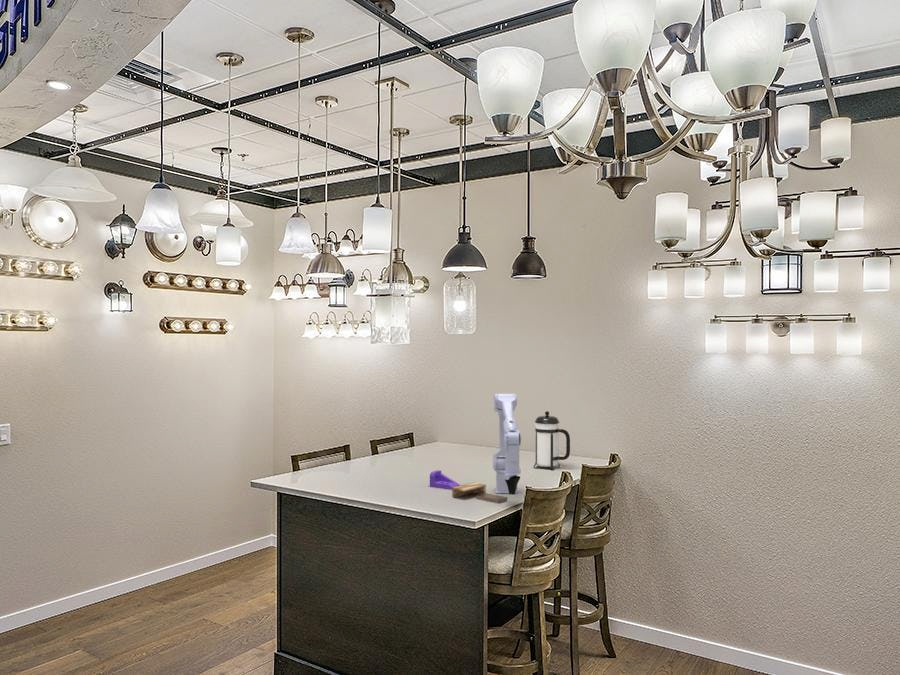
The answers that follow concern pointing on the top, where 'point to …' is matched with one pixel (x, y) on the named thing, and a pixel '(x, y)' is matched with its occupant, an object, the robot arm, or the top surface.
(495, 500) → the grey rectangular block
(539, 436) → the coffee press
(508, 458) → the robot arm
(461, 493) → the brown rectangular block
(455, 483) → the bracket
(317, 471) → the top surface
